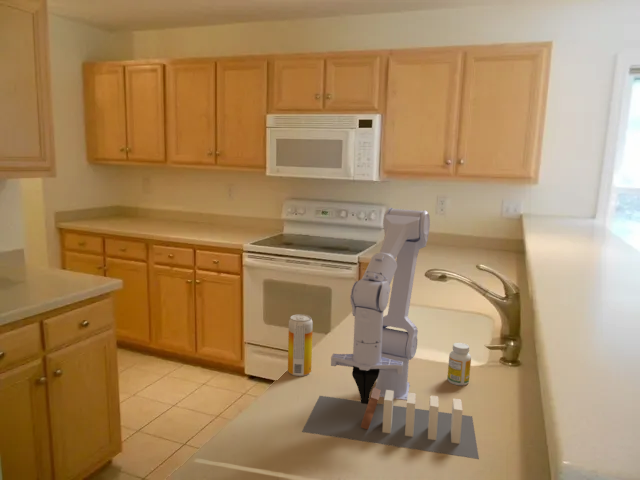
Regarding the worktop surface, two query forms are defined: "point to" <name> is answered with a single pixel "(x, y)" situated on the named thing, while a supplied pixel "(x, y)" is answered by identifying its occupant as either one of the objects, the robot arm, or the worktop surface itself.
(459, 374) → the supplement bottle
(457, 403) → the ivory domino
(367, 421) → the terracotta domino
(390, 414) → the ivory domino
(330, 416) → the charcoal mat
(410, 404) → the ivory domino
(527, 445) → the worktop surface
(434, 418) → the ivory domino
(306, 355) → the beer can
